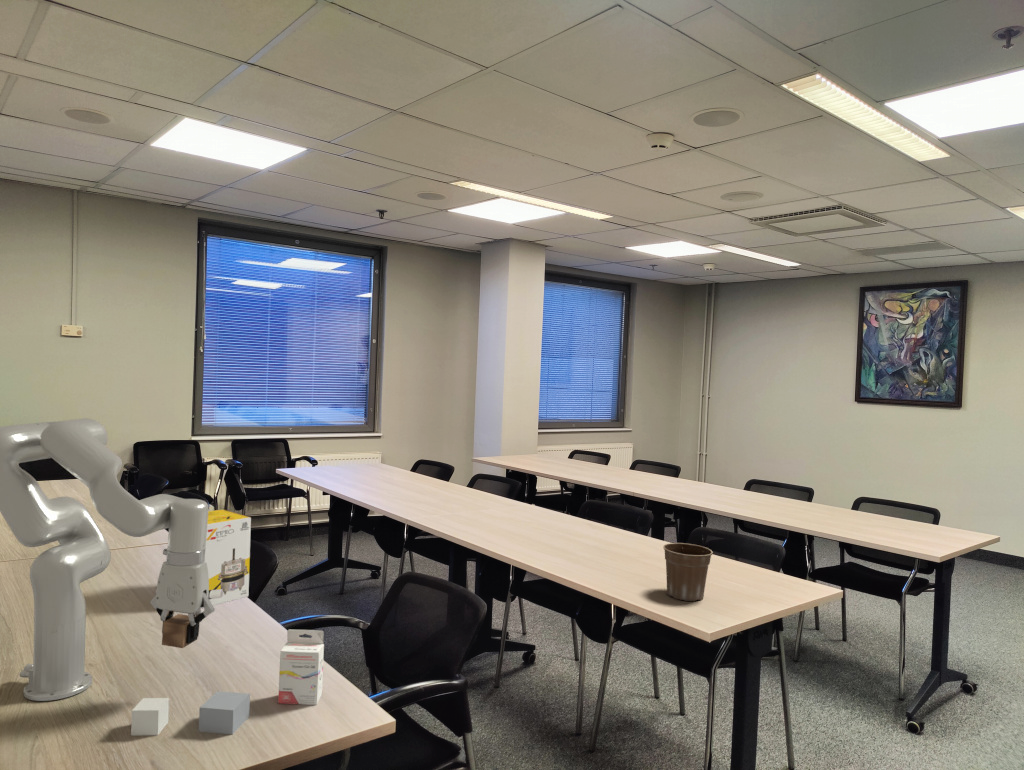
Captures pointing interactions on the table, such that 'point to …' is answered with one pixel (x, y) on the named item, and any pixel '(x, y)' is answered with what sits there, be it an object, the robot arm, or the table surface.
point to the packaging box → (227, 556)
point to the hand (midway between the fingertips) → (180, 638)
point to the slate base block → (224, 712)
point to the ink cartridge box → (301, 668)
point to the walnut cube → (175, 631)
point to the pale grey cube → (150, 716)
